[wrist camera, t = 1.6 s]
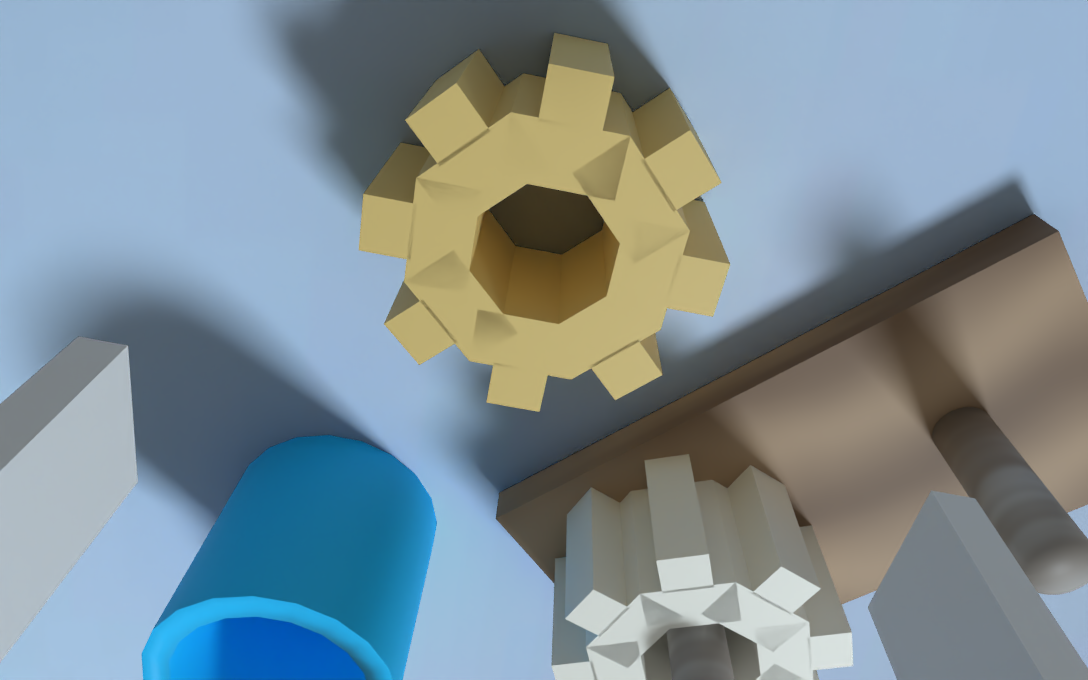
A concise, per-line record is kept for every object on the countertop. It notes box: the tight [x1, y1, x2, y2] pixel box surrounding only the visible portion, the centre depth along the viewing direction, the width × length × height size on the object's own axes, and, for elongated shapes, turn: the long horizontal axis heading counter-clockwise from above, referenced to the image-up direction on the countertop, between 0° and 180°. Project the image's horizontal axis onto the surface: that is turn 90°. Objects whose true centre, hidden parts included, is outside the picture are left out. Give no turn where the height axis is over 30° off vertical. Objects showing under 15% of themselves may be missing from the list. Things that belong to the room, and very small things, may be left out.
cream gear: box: [552, 454, 853, 680], centre depth 29 cm, size 10×10×5 cm
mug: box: [142, 435, 437, 680], centre depth 30 cm, size 12×8×8 cm
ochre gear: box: [359, 33, 730, 412], centre depth 24 cm, size 10×10×5 cm
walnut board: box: [496, 214, 1088, 680], centre depth 27 cm, size 11×21×8 cm, turn 124°
